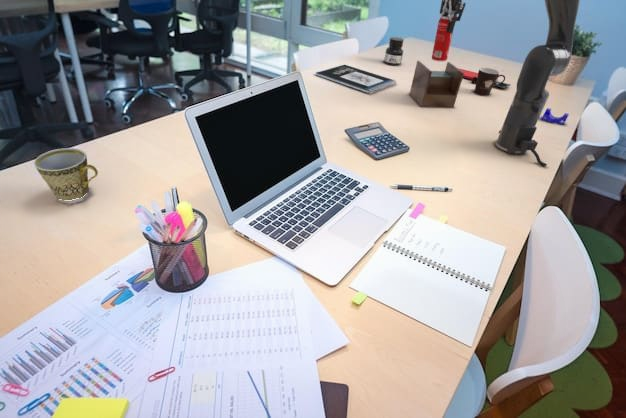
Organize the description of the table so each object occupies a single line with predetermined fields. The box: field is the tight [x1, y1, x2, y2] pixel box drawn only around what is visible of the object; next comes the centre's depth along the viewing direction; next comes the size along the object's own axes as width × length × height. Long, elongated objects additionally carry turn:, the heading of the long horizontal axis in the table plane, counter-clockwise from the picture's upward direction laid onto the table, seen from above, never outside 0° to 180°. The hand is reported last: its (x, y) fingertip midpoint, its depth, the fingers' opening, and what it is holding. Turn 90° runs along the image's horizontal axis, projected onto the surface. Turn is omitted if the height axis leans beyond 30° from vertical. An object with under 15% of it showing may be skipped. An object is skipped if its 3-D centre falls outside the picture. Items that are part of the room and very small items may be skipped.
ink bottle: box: [383, 36, 404, 66], centre depth 199 cm, size 10×9×12 cm
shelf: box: [409, 60, 464, 109], centre depth 159 cm, size 14×14×14 cm
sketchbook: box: [315, 64, 397, 95], centre depth 176 cm, size 22×30×2 cm
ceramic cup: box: [33, 147, 99, 205], centre depth 89 cm, size 13×10×10 cm
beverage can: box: [431, 15, 455, 63], centre depth 145 cm, size 6×6×15 cm
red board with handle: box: [457, 67, 511, 89], centre depth 190 cm, size 30×3×15 cm
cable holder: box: [541, 107, 570, 126], centre depth 154 cm, size 8×4×4 cm, turn 52°
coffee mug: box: [473, 67, 506, 97], centre depth 172 cm, size 12×9×10 cm
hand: (445, 30), depth 143 cm, fingers closed on beverage can, 5 cm apart
